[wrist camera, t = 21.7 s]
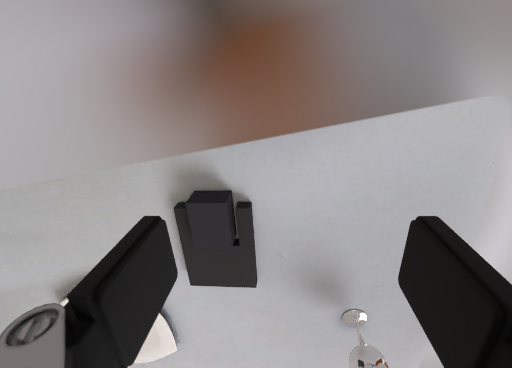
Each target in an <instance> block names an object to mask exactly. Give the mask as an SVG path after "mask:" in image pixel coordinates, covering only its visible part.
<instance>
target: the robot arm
mask: <svg viewBox="0 0 512 368" xmlns="http://www.w3.org/2000/svg"><path fill="white" fill-rule="evenodd" d="M177 274H178V272H177V267H176V263H175V259H174V255H173V250H172V246H171V242H170V238H169V234H168V230H167V226H166V222H165V220H162V219H161V217H160V216H144V217H143V218H142V219H141V220H140V221H139V222H138V223H137V224H136V225H135V226H134V227H133V228H132V229H131V230H130V231H129V232H128V233H127V234H126V235H125V236H124V237H123V238H122V239H121V240H120V241H119V242H118V244H117V245H116V246H115V247H114V248H113V249H112V250H111V251H110V252H109V253H108V254H107V255H106V256H105V257H104V258H103V259H102V260H101V261H100V262H99V263H98V264H97V265H96V266H95V267H94V268H93V269H92V270H91V271H90V272H89V273H88V275H87V276H86V277H85V278H84V279H83V280H82V281H81V282H80V283H79V284H78V285H77V286H76V287H75V288H74V289H73V290H72V291H71V292H70V293H69V294H68V295H67V296H66V297H67V299H68V301H69V302H68V303H67V304H66V305H65V306H64V307H63V306H62V305H61V304H56V303H52V304H45V305H42V306H39V307H36V308H34V309H32V310H30V311H28V312H26V313H25V314H23V315H21V316H20V317H18V318H17V319H16V320H14V321H13V322H12V323H11V324H10V325H9V326H8V327H7V328H6V329H5V330H4V331H3V332H2V334H1V335H0V368H127V367H128V366H130V365H132V364H133V363H134V361H135V360H136V358H137V356H138V354H139V352H140V350H141V348H142V346H143V344H144V342H145V340H146V338H147V336H148V334H149V332H150V330H151V328H152V326H153V324H154V322H155V321H156V319H157V317H158V315H159V313H160V311H161V309H162V307H163V305H164V303H165V301H166V299H167V297H168V295H169V293H170V291H171V289H172V287H173V285H174V283H175V282H176V279H177ZM398 282H399V286H400V288H401V290H402V292H403V293H404V295H405V297H406V299H407V301H408V303H409V304H410V306H411V308H412V310H413V312H414V313H415V315H416V317H417V319H418V321H419V323H420V324H421V326H422V328H423V330H424V332H425V334H426V335H427V337H428V339H429V341H430V343H431V344H432V346H433V348H434V350H435V352H436V353H437V355H438V357H439V359H440V361H441V363H442V365H443V366H444V368H512V285H511V284H510V283H509V282H508V281H507V280H506V279H505V278H504V277H503V276H502V275H501V274H499V273H498V272H497V271H496V270H495V269H494V268H493V267H492V266H491V265H490V264H489V263H488V262H486V261H485V260H484V259H483V258H482V257H481V256H480V255H479V254H478V253H477V252H476V251H475V250H474V249H472V248H471V247H470V246H469V245H468V244H467V243H466V242H465V241H464V240H463V239H462V238H461V237H460V236H458V235H457V234H456V233H455V232H454V231H453V230H452V229H451V228H450V227H449V226H448V225H447V224H445V223H444V222H443V221H442V220H441V219H440V218H439V217H437V216H418V217H417V218H416V220H413V221H411V223H410V227H409V232H408V236H407V241H406V245H405V250H404V254H403V258H402V263H401V267H400V272H399V276H398Z"/></svg>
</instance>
